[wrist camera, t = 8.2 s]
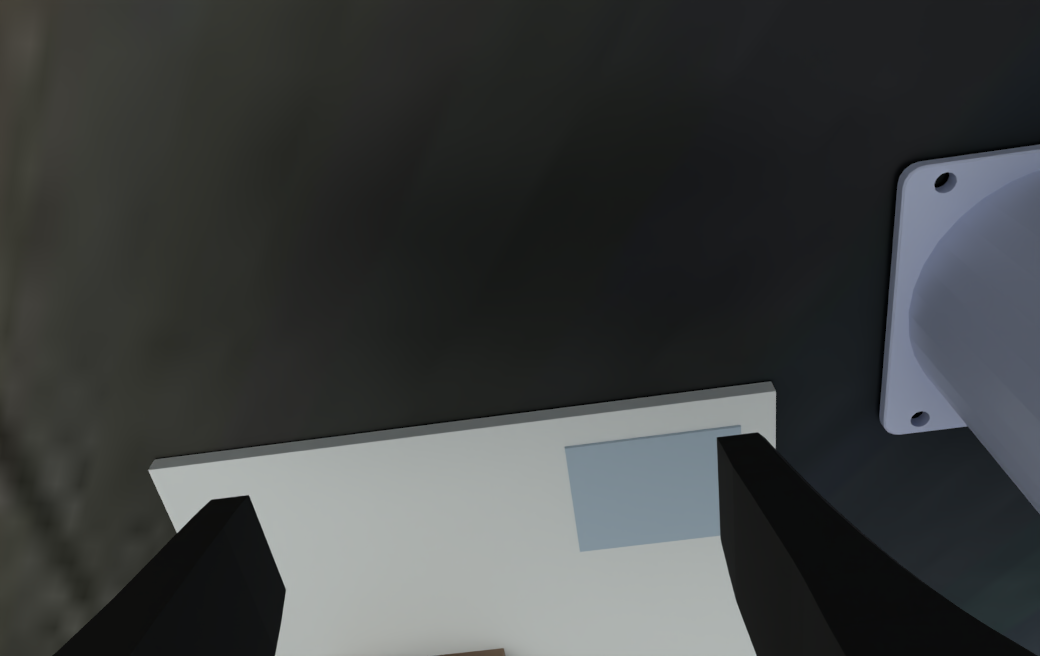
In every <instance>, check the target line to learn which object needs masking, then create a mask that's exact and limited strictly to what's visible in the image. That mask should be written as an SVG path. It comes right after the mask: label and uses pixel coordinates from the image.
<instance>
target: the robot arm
mask: <svg viewBox="0 0 1040 656" xmlns="http://www.w3.org/2000/svg"><path fill="white" fill-rule="evenodd" d="M946 172H949V178H948V181H947V182H946V183H945V184H944V185H943V186H941V187H938V188H935V186H934V184H935V181H936V179H937V178H938V177H939V176H940V175H941V174H943V173H946ZM921 411H923V413H922V414H921V415H920V416H919V417H917V418H914V419H911V418H912V416H913V415H914V414H915V413H917V412H921ZM879 418H880V422H881V424H882V425H883V427H884V428H885V429H886V431H887V432H889V433H891V434H897V435H901V434H909V433H917V432H925V431H934V430H942V429H950V428H958V427H966V426H968V427H969V428H970V430H971V431H972V432H973V433H974V434H975V436H976V437H977V438H978V439H979V441H980V442H981V443H982V444H983V445H984V447H985V448H986V449H987V450H988V452H989V453H990V454H991V455H992V456H993V458H994V459H995V460H996V461H997V463H998V464H999V465H1000V466H1001V467H1002V469H1003V470H1004V471H1005V472H1006V473H1007V475H1008V476H1009V477H1010V478H1011V480H1012V481H1013V482H1014V483H1015V484H1016V486H1017V487H1018V488H1019V489H1020V491H1021V492H1022V493H1023V494H1024V495H1025V497H1026V498H1027V499H1028V500H1029V502H1030V503H1031V504H1032V505H1033V506H1034V508H1035V509H1036V510H1037V511H1038V513H1039V514H1040V145H1033V146H1025V147H1018V148H1011V149H1004V150H997V151H990V152H983V153H976V154H969V155H962V156H954V157H947V158H940V159H933V160H926V161H920V162H916V163H913V164H911V165H910V166H908V167H907V168H906V169H904V171H903V172H902V174H901V175H900V177H899V180H898V184H897V196H896V208H895V221H894V234H893V247H892V260H891V272H890V285H889V298H888V311H887V323H886V336H885V349H884V362H883V375H882V387H881V400H880V413H879ZM717 459H718V486H719V512H720V539H721V544H722V548H723V552H724V556H725V560H726V564H727V568H728V572H729V576H730V580H731V583H732V587H733V591H734V595H735V599H736V602H737V605H738V608H739V610H740V613H741V616H742V618H743V621H744V624H745V626H746V629H747V632H748V634H749V637H750V639H751V642H752V645H753V647H754V650H755V653H756V655H757V656H1037V655H1035V654H1034V653H1032V652H1030V651H1029V650H1027V649H1025V648H1024V647H1022V646H1020V645H1019V644H1017V643H1015V642H1014V641H1012V640H1010V639H1008V638H1007V637H1005V636H1003V635H1002V634H1000V633H998V632H997V631H995V630H993V629H992V628H990V627H988V626H987V625H985V624H984V623H982V622H980V621H979V620H977V619H976V618H974V617H973V616H971V615H969V614H968V613H966V612H965V611H963V610H962V609H960V608H959V607H957V606H956V605H955V604H953V603H952V602H950V601H949V600H947V599H946V598H945V597H943V596H942V595H940V594H939V593H938V592H936V591H935V590H933V589H932V588H930V587H929V586H928V585H926V584H925V583H924V582H922V581H921V580H920V579H918V578H917V577H916V576H914V575H913V574H912V573H910V572H909V571H908V570H907V569H905V568H904V567H903V566H901V565H900V564H899V563H898V562H896V561H895V560H894V559H893V558H892V557H890V556H889V555H888V554H887V553H885V552H884V551H883V550H882V549H881V548H879V547H878V546H877V545H876V544H874V543H873V542H872V541H871V540H870V539H869V538H867V537H866V536H865V535H864V534H863V533H862V532H860V531H859V530H858V529H857V528H856V527H855V526H854V525H852V524H851V523H850V522H849V521H848V520H847V519H846V518H845V517H844V516H843V515H842V514H840V513H839V512H838V511H837V510H836V509H835V508H834V507H833V506H832V505H831V504H830V503H828V502H827V501H826V500H825V499H824V498H823V497H822V496H821V495H820V494H819V493H818V492H817V491H816V490H815V489H814V488H813V487H812V486H811V485H810V484H809V483H808V482H807V481H806V480H805V479H804V478H803V477H802V476H801V475H800V474H799V473H798V472H797V471H796V470H795V469H794V468H793V467H792V466H791V465H790V464H789V463H788V462H787V461H786V460H785V459H784V458H783V457H782V456H781V455H780V453H779V452H778V451H777V450H776V449H775V448H774V447H773V446H772V445H771V444H770V443H769V442H768V440H767V439H766V438H765V437H763V436H762V435H761V434H759V433H758V432H756V433H748V434H740V435H731V436H723V437H717ZM285 594H286V588H285V586H284V583H283V581H282V578H281V576H280V573H279V571H278V568H277V565H276V563H275V560H274V558H273V555H272V553H271V550H270V548H269V545H268V542H267V540H266V537H265V535H264V532H263V530H262V527H261V524H260V522H259V519H258V517H257V514H256V512H255V509H254V507H253V504H252V501H251V499H250V496H249V495H245V496H237V497H229V498H221V499H212V500H210V501H209V502H208V503H207V504H206V505H205V506H204V507H203V508H202V509H201V510H200V511H199V512H198V513H196V514H195V515H194V516H193V517H192V518H191V520H190V521H189V522H188V523H187V524H186V525H185V526H184V527H183V528H182V529H181V530H180V531H179V532H178V533H177V534H176V535H175V536H174V537H173V538H172V539H171V540H170V541H169V542H168V543H167V544H166V545H165V546H164V547H163V548H162V549H161V550H160V552H159V553H158V554H157V555H156V556H155V557H154V558H153V559H152V560H151V561H150V562H149V563H148V564H147V565H146V566H145V567H144V568H143V569H142V570H141V571H140V572H139V573H138V574H137V575H136V576H135V577H134V578H133V579H132V580H131V581H130V582H129V583H128V584H127V585H126V586H125V587H124V588H123V589H122V590H121V591H120V592H119V593H118V594H117V595H116V596H115V597H114V598H113V599H112V600H111V601H110V602H109V603H108V604H107V605H106V606H105V607H104V608H103V609H102V610H101V611H100V612H99V613H98V614H97V615H96V616H94V617H93V618H92V619H91V620H90V621H89V622H88V623H87V624H86V625H85V626H84V627H83V628H82V629H81V630H80V631H79V632H78V633H76V634H75V635H74V636H73V637H72V638H71V639H70V640H69V641H68V642H67V643H66V644H65V645H64V646H63V647H62V648H61V649H60V650H58V651H57V652H56V653H55V654H54V655H53V656H275V653H276V648H277V643H278V638H279V632H280V627H281V620H282V614H283V607H284V601H285Z"/></svg>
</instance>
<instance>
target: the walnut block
mask: <svg viewBox="0 0 1040 656" xmlns="http://www.w3.org/2000/svg"><path fill="white" fill-rule="evenodd" d="M436 656H505V652H504V648H500V649H491V650H482V651H473V652H464V653H455V654H445V655H436Z"/></svg>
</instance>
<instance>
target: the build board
mask: <svg viewBox="0 0 1040 656" xmlns="http://www.w3.org/2000/svg"><path fill="white" fill-rule="evenodd" d="M756 432H758V433H759V434H761V435H762V436H763V437H765V438H766V439H767V440H768V442H769V443H770V444H771V445H772V446H773V447H774V448H775V449H776V390H775V388H774V386H773V384H772V382H771V381H769V382H761V383H754V384H746V385H738V386H730V387H722V388H714V389H706V390H698V391H690V392H683V393H675V394H667V395H659V396H651V397H643V398H635V399H627V400H619V401H612V402H604V403H596V404H588V405H580V406H572V407H564V408H556V409H549V410H541V411H533V412H525V413H517V414H509V415H501V416H493V417H485V418H478V419H470V420H462V421H454V422H446V423H438V424H430V425H422V426H414V427H407V428H399V429H391V430H383V431H375V432H367V433H359V434H351V435H344V436H336V437H328V438H320V439H312V440H304V441H296V442H288V443H280V444H273V445H265V446H257V447H249V448H241V449H233V450H225V451H217V452H209V453H202V454H194V455H186V456H178V457H170V458H162V459H155V460H154V461H153V463H152V465H151V466H150V468H149V470H148V471H149V473H150V475H151V477H152V479H153V482H154V484H155V486H156V488H157V490H158V493H159V495H160V497H161V499H162V501H163V504H164V506H165V508H166V510H167V512H168V514H169V517H170V519H171V521H172V523H173V525H174V528H175V530H176V532H177V533H178V532H179V531H180V530H181V529H182V528H183V527H184V526H185V525H186V524H187V523H188V522H189V521H190V520H191V518H192V517H193V516H194V515H195V514H196V513H198V512H199V511H200V510H201V509H202V508H203V507H204V506H205V505H206V504H207V503H208V502H209V501H210V500H212V499H221V498H229V497H237V496H245V495H249V496H250V499H251V501H252V504H253V507H254V509H255V512H256V514H257V517H258V519H259V522H260V524H261V527H262V530H263V532H264V535H265V537H266V540H267V542H268V545H269V548H270V550H271V553H272V555H273V558H274V560H275V563H276V565H277V568H278V571H279V573H280V576H281V578H282V581H283V583H284V586H285V588H286V594H285V601H284V607H283V614H282V620H281V627H280V632H279V638H278V643H277V648H276V653H275V656H436V655H445V654H455V653H464V652H473V651H482V650H491V649H500V648H504V652H505V656H757V655H756V653H755V650H754V647H753V645H752V642H751V639H750V637H749V634H748V632H747V629H746V626H745V624H744V621H743V618H742V616H741V613H740V610H739V608H738V605H737V602H736V599H735V595H734V591H733V587H732V583H731V580H730V576H729V572H728V568H727V564H726V560H725V556H724V552H723V548H722V544H721V539H720V512H719V486H718V459H717V437H723V436H731V435H740V434H748V433H756Z"/></svg>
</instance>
